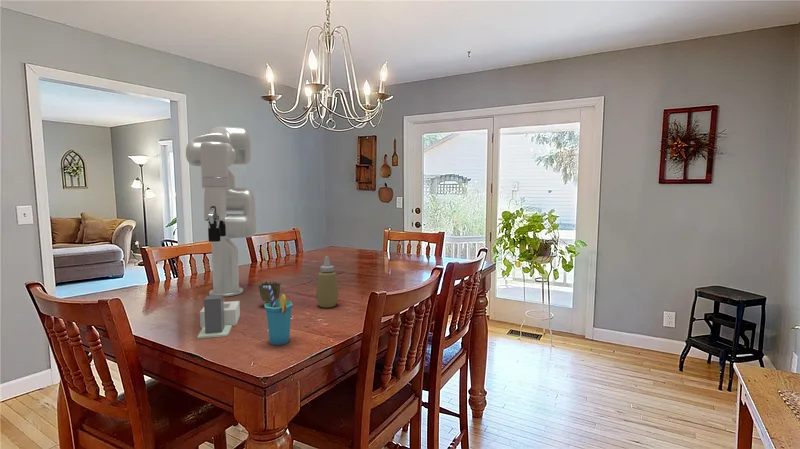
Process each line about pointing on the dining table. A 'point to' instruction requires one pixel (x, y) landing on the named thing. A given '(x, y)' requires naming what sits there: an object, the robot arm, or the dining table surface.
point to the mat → (208, 335)
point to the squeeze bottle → (327, 285)
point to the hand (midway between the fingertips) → (217, 238)
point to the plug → (214, 313)
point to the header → (226, 314)
